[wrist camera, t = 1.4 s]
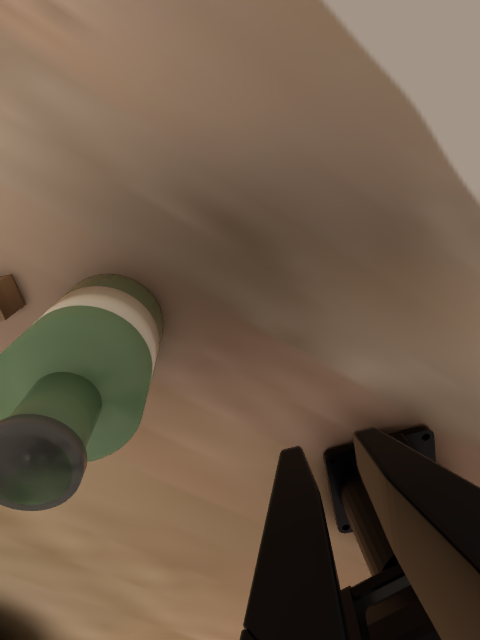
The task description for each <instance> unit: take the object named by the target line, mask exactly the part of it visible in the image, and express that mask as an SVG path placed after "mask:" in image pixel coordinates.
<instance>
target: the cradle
mask: <svg viewBox="0 0 480 640" xmlns="http://www.w3.org/2000/svg"><path fill="white" fill-rule="evenodd" d="M25 305H26V304H25V302H24V300H23V298H22V296H21V294H20V292H19V290H18V288H17V285H16V283H15V281H14V279H13V277H12V275H11V274H10V275H6V276H3V277H0V321H4V320H6V319H7V318H9V317H10V316H11V315H13V314H14V313H15V312H17V311H18V310H19V309H21V308H22V307H23V306H25Z"/></svg>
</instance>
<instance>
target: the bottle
mask: <svg viewBox="0 0 480 640" xmlns="http://www.w3.org/2000/svg"><path fill="white" fill-rule="evenodd" d="M162 330H163V317H162V313H161V309H160V307H159V304H158V303H157V301H156V299H155V298H154V296H153V295H152V294H151V293H150V292H149V291H148V290H147V289H146V288H145V287H144V286H143V285H141V284H140V283H138V282H136V281H135V280H132V279H130V278H128V277H124V276H121V275H115V274H101V275H96V276H92V277H89V278H87V279H85V280H83V281H81V282H80V283H78V284H77V285H76V286H75V287H73V288H72V289H71V290H70V291H69V292H68V293H67V294H66V295H65V296H63V297H62V298H61V299H60V300H58V301H57V302H56V303H55V304H54V305H53V306H52V307H51V308H50V309H49V310H47V311H46V312H45V313H44V314H43V315H42V316H41V317H40V318H39V319H38V320H36V321H35V322H34V323H33V324H32V325H31V327H30V328H29V329H27V330H26V331H25V332H24V333H23V334H22V335H21V336H20V337H19V338H18V339H16V340H15V341H14V342H13V343H12V344H11V345H10V346H9V347H8V348H7V349H6V350H4V351H3V352H2V353H1V354H0V505H3V506H6V507H9V508H12V509H17V510H23V511H39V510H45V509H50V508H53V507H56V506H58V505H60V504H62V503H64V502H65V501H67V500H68V499H69V498H70V497H71V496H72V495H73V494H74V493H75V492H76V490H77V489H78V487H79V485H80V482H81V480H82V477H83V475H84V472H85V469H86V466H87V462H89V461H94V460H97V459H100V458H103V457H105V456H108V455H110V454H112V453H114V452H115V451H117V450H119V449H120V448H121V447H122V446H124V445H125V444H126V443H127V442H128V441H129V440H130V439H131V437H132V436H133V435H134V433H135V432H136V430H137V428H138V426H139V424H140V421H141V418H142V415H143V410H144V406H145V402H146V398H147V394H148V390H149V385H150V382H151V379H152V375H153V371H154V367H155V362H156V358H157V354H158V349H159V344H160V340H161V335H162Z"/></svg>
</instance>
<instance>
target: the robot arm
mask: <svg viewBox="0 0 480 640" xmlns="http://www.w3.org/2000/svg"><path fill="white" fill-rule="evenodd" d="M424 434H425V435H424ZM423 435H424V436H423ZM353 441H354V444H350V445H346V446H342V447H339V448H335V449H331V450H328V451H327V452H326V453H325V454H324V463H325V469H326V474H327V479H328V484H329V489H330V494H331V499H332V504H333V509H334V515H335V520H336V524H337V527H338V530H339V531H340V532H341V533H349V532H353V533H354V535H355V537H356V540H357V542H358V544H359V547H360V549H361V552H362V554H363V556H364V559H365V561H366V563H367V566H368V568H369V571H370V573H371V575H372V577H370V578H368V579H366V580H364V581H362V582H360V583H358V584H356V585H355V586H353V587H351V586H348V587H346V588H344V589H342V590H340V585H339V580H338V575H337V570H336V566H335V561H334V556H333V551H332V546H331V542H330V537H329V532H328V527H327V523H326V518H325V513H324V508H323V503H322V499H321V495H320V492H319V489H318V486H317V484H316V481H315V479H314V476H313V474H312V471H311V469H310V466H309V464H308V461H307V459H306V457H305V454H304V452H303V449H302V448H301V447H300V446H296V447H292V448H288V449H284V450H282V451H281V453H280V456H279V460H278V465H277V470H276V474H275V479H274V484H273V488H272V493H271V498H270V502H269V507H268V512H267V516H266V521H265V526H264V530H263V535H262V540H261V544H260V549H259V554H258V558H257V563H256V568H255V572H254V577H253V581H252V586H251V591H250V595H249V600H248V605H247V609H246V614H245V619H244V623H243V626H244V630H242V632H241V636H240V640H480V487H478V486H476V485H474V484H473V483H471V482H469V481H467V480H466V479H464V478H462V477H460V476H459V475H457V474H455V473H453V472H452V471H450V470H448V469H446V468H445V467H443V466H441V465H440V464H438V463H436V460H435V442H434V433H433V432H432V431H431V429H430V428H429V427H427V426H420V427H416V428H412V429H408V430H404V431H401V432H397V433H393V434H389V435H387V434H386V433H384V432H382V431H380V430H379V429H377V428H374V427H369V428H365V429H361V430H358V431H355V432H354V434H353ZM333 457H335V458H334V459H332V460H330V459H331V458H333Z"/></svg>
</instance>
